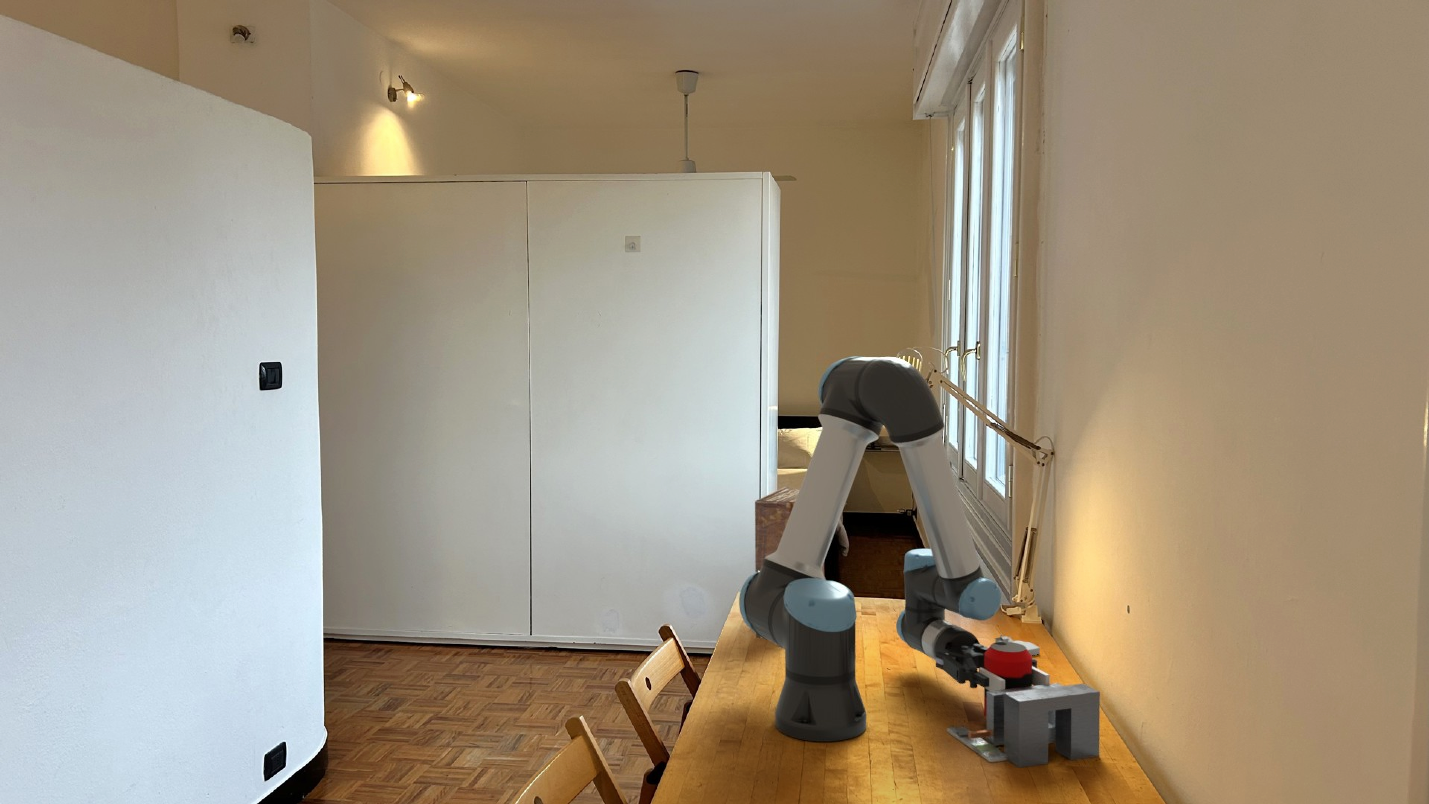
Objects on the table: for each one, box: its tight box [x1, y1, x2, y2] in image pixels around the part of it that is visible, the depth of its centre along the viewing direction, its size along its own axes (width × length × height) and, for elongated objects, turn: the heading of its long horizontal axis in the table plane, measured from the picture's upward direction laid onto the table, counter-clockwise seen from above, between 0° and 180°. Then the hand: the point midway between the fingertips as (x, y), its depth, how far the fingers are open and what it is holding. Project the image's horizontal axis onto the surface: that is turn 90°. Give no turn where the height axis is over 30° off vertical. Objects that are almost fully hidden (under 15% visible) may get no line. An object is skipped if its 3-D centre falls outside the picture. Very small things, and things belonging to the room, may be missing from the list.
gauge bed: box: [946, 683, 1101, 768], centre depth 159 cm, size 17×16×10 cm
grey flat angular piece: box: [987, 633, 1041, 656], centre depth 208 cm, size 12×11×4 cm
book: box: [754, 485, 825, 638], centre depth 230 cm, size 25×9×30 cm, turn 160°
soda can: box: [983, 642, 1033, 719], centre depth 166 cm, size 8×8×12 cm
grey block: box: [968, 682, 1064, 747], centre depth 158 cm, size 17×7×8 cm, turn 106°
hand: (1025, 685), depth 162 cm, fingers closed on soda can, 7 cm apart
